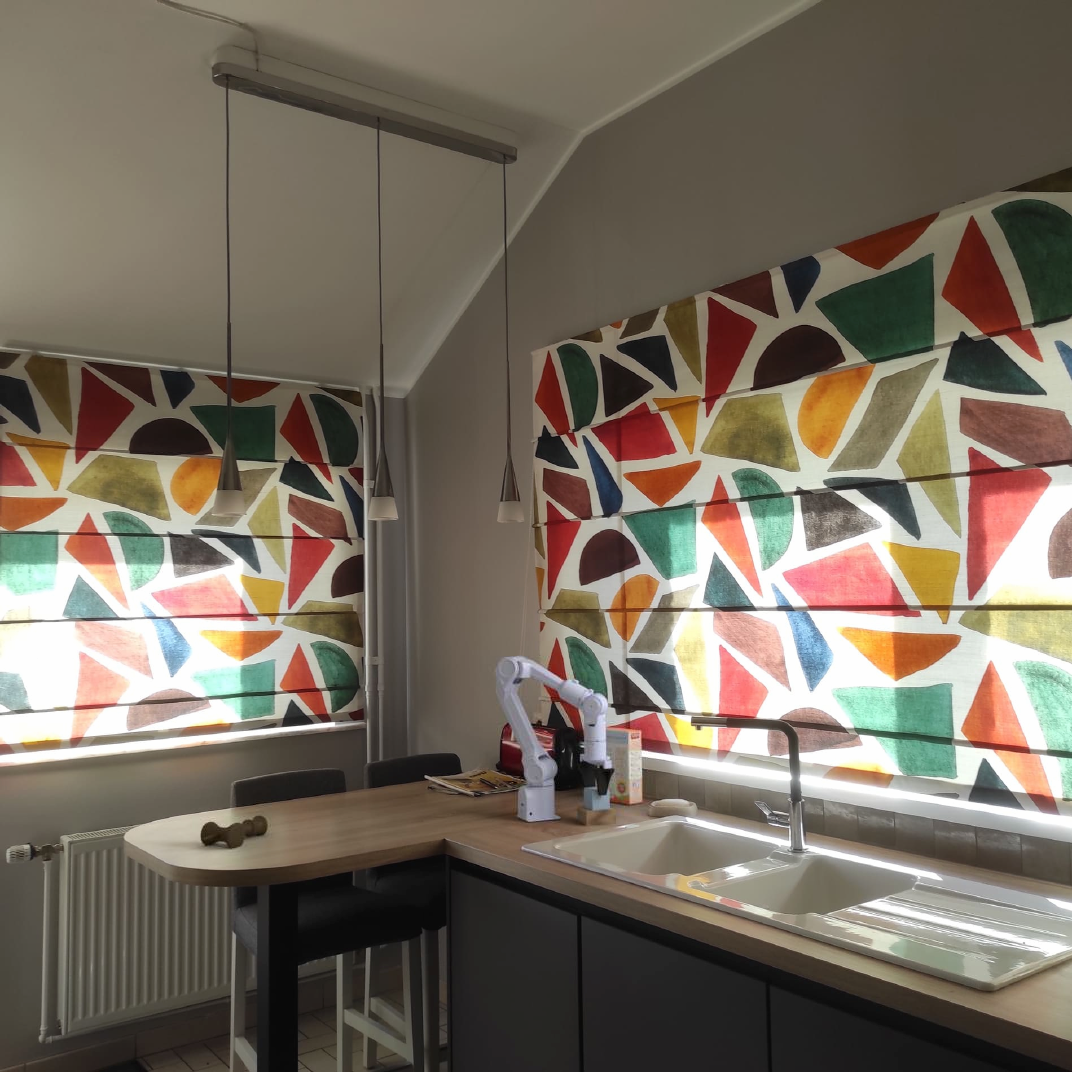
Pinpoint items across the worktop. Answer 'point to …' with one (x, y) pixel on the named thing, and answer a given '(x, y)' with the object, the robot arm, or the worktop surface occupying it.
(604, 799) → the slate cube
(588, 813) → the walnut block
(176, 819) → the worktop surface
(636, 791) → the cracker box
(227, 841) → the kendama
